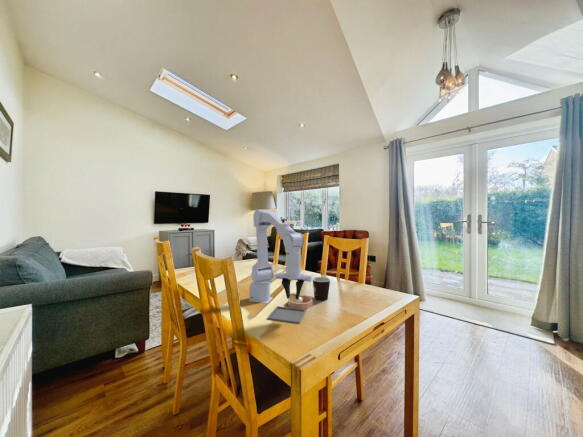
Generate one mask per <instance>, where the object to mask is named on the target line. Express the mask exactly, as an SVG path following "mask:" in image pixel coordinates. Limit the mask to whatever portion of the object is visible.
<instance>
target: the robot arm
mask: <svg viewBox="0 0 583 437" xmlns="http://www.w3.org/2000/svg"><path fill="white" fill-rule="evenodd" d="M252 216H253V219H252V220H253V228H255V229H256V233H255V234H256V255H257V256H256V258H257V262H256V263H255V264H253V265H252V267H251V274H250V275H251V280H252V281H251V282H250V285H249V300H248V302H254V303H255V302H256V303H262V304H268V303H269V302H270V301H271V300H272V299H273V298H274V297H273V296H271V282H272V280H273V279H275V280H281V285H282V287H283V289H284V291H285V296H286V299H287V300H288V299H289V295H290V294H291V281H296V282H295V288H296V293H295V294H296V300H298V299H299V295H301V291H302V289H303V285H304V284H305V282H309V283H311V282H313V275H307V274H304V273H303V274H302V273H301V270H302V269H301V267H302V265H301V263H302V261H301V260H302V254H301V253H302V247H304V244H305V237H304V235H303V234H302V232H296V231H295V230H294V229H293V228H292V227H291V226H290V224H289V223H288V222H283V221H282V220H281V219H280V218H279V215H278V212H277V211H276V210H275V209H260V208H259V209H258V208H257V209H255V211H254V212H253V215H252ZM271 226H273V227H274V228H275V229H276V234H277V235H278V236H279V237H280V238H281V239H282V240H283V245H284V251H285V254H286V256H285V259H286V261H285V272H282V273H281V272H276V273H275V271H274V266H273V264H272V263H270V262H269V254H268V252H269V251H268V234H267V233H268V232H267V230H268V228H269V227H271Z"/></svg>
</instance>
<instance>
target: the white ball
mask: <svg viewBox="0 0 583 437" xmlns="http://www.w3.org/2000/svg"><path fill="white" fill-rule="evenodd" d="M302 302H303V299H302V298H301V297H299V299H298V300H296V303H302Z"/></svg>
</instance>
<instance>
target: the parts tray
mask: <svg viewBox="0 0 583 437" xmlns="http://www.w3.org/2000/svg"><path fill="white" fill-rule="evenodd" d="M306 312H307V309H297V308H291V307H289V306H288V307H287V306H280V305H279V306H278V305H277V306H276V307H275V308H274V309H273V310H272V312H271V313H270V314H269V315H268V316H267V320H268V321H269V320H270V321H277V322H284V323H293V324H297V325H298V324H299V325H300V323H302V320H303V319H304V316H305V314H306Z"/></svg>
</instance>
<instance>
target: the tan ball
mask: <svg viewBox="0 0 583 437" xmlns="http://www.w3.org/2000/svg"><path fill="white" fill-rule="evenodd" d="M289 300H290V301H292V302H294V301H296V293H295V292H290V295H289Z"/></svg>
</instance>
